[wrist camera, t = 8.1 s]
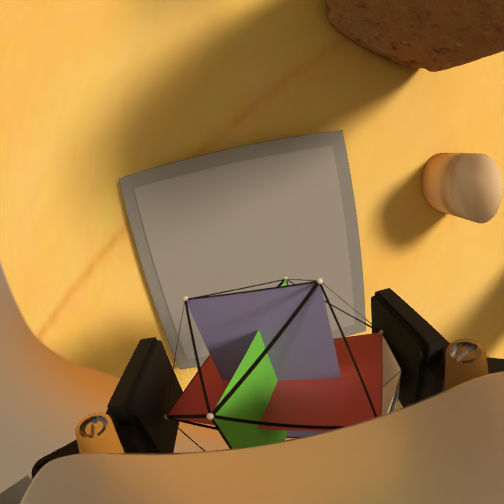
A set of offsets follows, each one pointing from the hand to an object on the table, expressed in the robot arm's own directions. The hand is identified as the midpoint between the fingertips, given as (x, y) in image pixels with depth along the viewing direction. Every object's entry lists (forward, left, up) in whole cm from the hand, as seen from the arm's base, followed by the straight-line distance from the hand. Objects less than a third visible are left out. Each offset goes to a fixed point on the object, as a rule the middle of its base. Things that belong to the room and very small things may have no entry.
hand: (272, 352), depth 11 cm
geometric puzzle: (0, 0, -2) cm, 2 cm away
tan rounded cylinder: (-17, -3, -12) cm, 21 cm away
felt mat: (0, 0, -12) cm, 12 cm away
